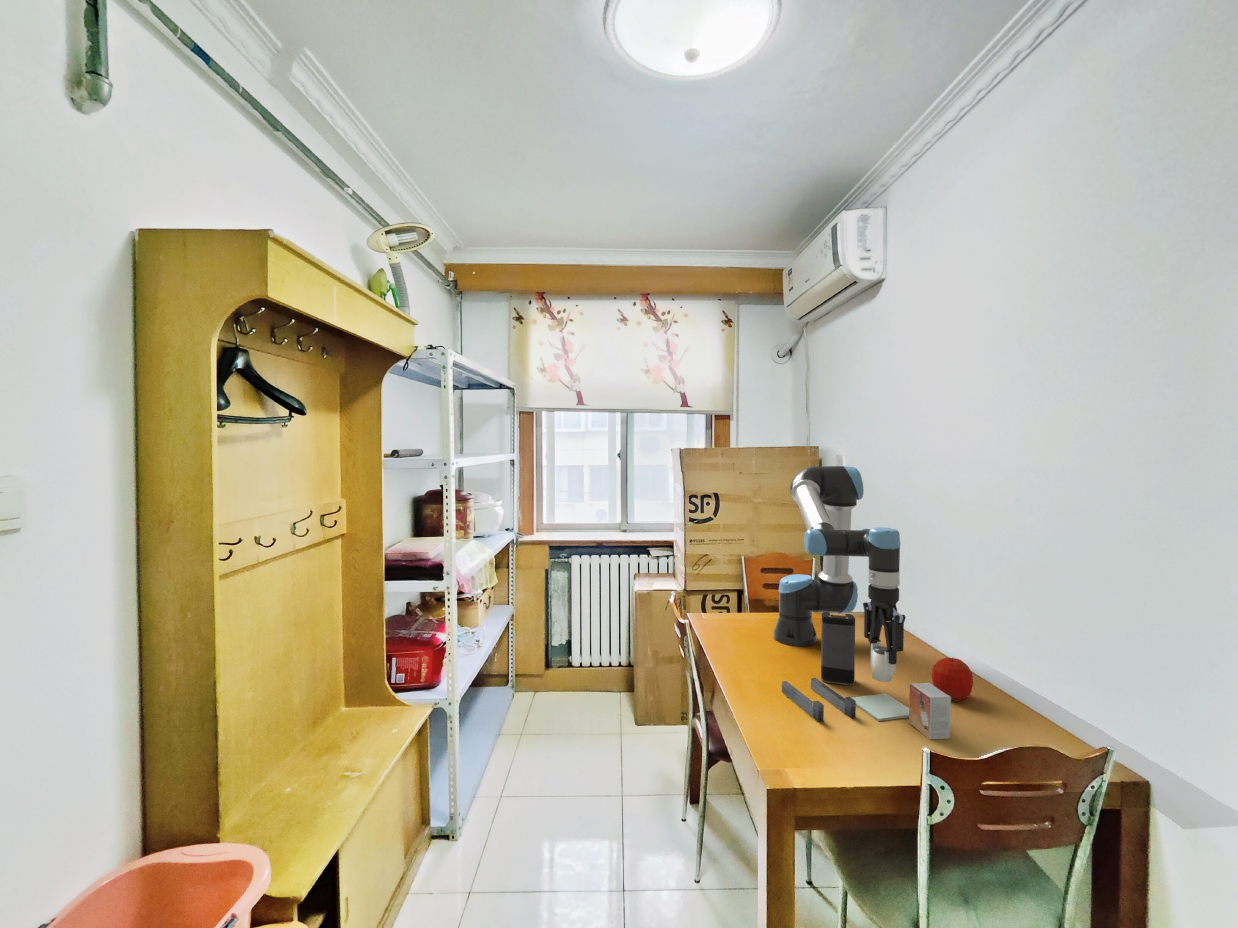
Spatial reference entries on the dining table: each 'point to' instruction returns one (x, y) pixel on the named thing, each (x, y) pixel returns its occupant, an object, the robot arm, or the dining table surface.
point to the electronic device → (838, 649)
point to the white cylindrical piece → (879, 665)
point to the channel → (816, 707)
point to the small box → (930, 710)
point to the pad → (882, 707)
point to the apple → (952, 678)
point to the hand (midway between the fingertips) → (882, 670)
